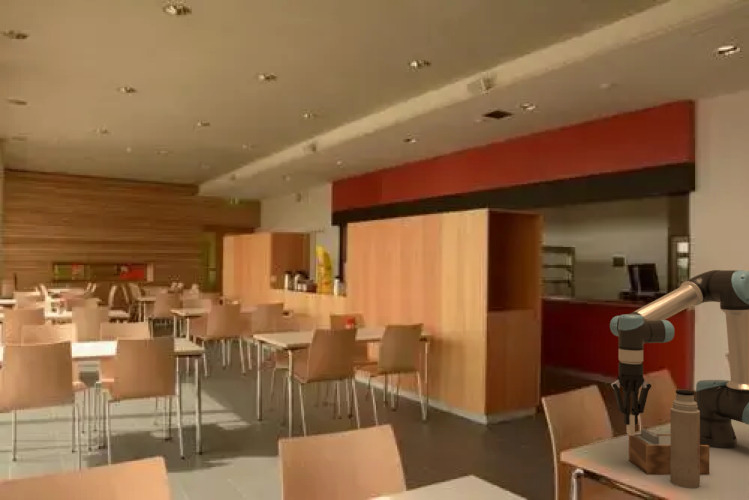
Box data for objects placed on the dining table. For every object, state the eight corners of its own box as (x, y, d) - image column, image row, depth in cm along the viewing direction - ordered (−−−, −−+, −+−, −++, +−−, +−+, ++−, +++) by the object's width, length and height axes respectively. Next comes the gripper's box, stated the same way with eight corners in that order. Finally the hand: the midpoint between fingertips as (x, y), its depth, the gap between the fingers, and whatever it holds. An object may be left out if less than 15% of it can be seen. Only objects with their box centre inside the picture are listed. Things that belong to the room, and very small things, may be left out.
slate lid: (681, 440, 205) (681, 428, 205) (699, 449, 195) (699, 437, 195) (635, 440, 204) (635, 428, 205) (649, 449, 194) (649, 437, 194)
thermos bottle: (700, 481, 187) (700, 390, 187) (698, 490, 180) (698, 394, 180) (672, 476, 191) (672, 387, 191) (668, 484, 184) (669, 391, 185)
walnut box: (687, 461, 206) (687, 434, 206) (709, 474, 193) (709, 445, 193) (628, 461, 206) (628, 434, 206) (647, 474, 193) (647, 445, 193)
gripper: (644, 360, 204) (644, 431, 203) (606, 360, 203) (606, 431, 203) (656, 364, 196) (655, 437, 196) (616, 363, 196) (615, 437, 195)
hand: (630, 434), depth 199 cm, fingers closed
